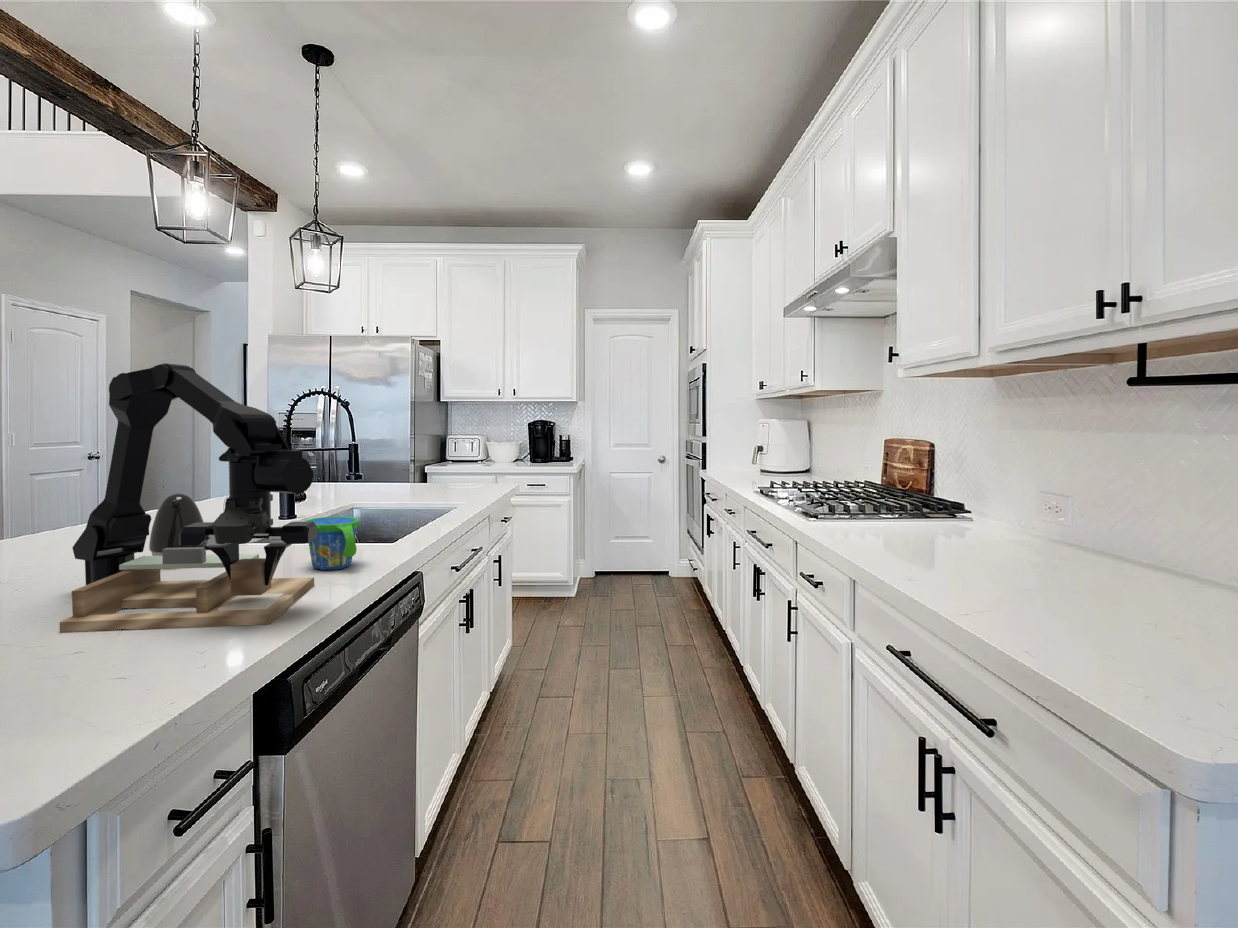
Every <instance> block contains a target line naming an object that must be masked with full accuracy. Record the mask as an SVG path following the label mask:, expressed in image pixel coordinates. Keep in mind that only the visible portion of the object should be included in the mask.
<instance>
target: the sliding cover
mask: <svg viewBox="0 0 1238 928" xmlns="http://www.w3.org/2000/svg"><path fill="white" fill-rule="evenodd" d="M206 553H207V550H205V548H204V547H189V548H165V549H163V550H162V556H153V555H143V556H140V557H137V558H134V560H131V561H129V562H126V563H123V564H121V565H119V570H131V569H160V570H167V569H168V570H169V569H174V570H175V569H214V568H215V569H218V568H220V569H221V568H224V569H225V567H224V565H223V563H222V562H221V560H220V559H219V557H218V556H217V555H216V554H206ZM255 558H260V554H259V553H252V554H251V553H249V554H248V553H247V554H246V553H239V560H240V559H255Z"/></svg>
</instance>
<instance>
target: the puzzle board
mask: <svg viewBox="0 0 1238 928" xmlns="http://www.w3.org/2000/svg"><path fill="white" fill-rule="evenodd" d="M314 586H315V577H311V576H310V577H279V578H278V577H277V578H273V577H272V580H271V588H270V589H269V590H267V591H266V592H265V593H263V594H280V593H284V595H283V596H282V597H281V598H280V599H278V600H277V601H276V602H275V603H274V604H272V605H271V606H270V607H269V608H267V609H255V610H225V611H218V608H220V607H221V606H223V605H224V604H226V603H227V602H229V601H230V600H232V599H233V598H235V597H236V596H231V581H230V578H229V576H228V574H227V572H226V571H224V572H223V573H220V574H219V575H217V576H215V577H213V578H212V579H204V580H203V579H200V580H199V579H198V580H197V579H195V580H194V579H193V580H191V579H190V580H163V581H162V579H161V569H131V570H124V571H121V572H119V573H116V574H114V575H111V576H108V577H106V578H103V579H101V580H98V581H96V582H93V583H91V584H88V585H86V584H85V585H83V586H81V587H78V588H76V589H73V590H72V591H71V603H72V604H71V605H72V616H70V617H67V618H65V619H63V620H61V621H59V632H60V633H67V632H69V633H71V632H96V631H98V632H99V631H100V632H101V631H103V632H104V631H122V630H121V629H129V630H145V629H146V630H149V629H150V628H151V629H152V630H153V628H156V629H174V628H175V629H177V628H178V629H179V628H181V629H182V628H202V627H204V628H205V627H229V626H257V625H261V626H262V625H271V624H272V623H273V622H275V620H277V618H279V617H280V616H282V614H283V613H284V612H286V611H287V610H288V609H289V608H290V607H291V606H292V605H293V604H295V603H296V602H297V601H298V600H299V599H300V598H301V597H302V596H304V595H305V594H306V593H307V592H308V591H310V590H311V589H312V588H313V587H314ZM190 607H191V608H192V607H193V608H194V607H196V611H174V612H173V611H172V612H170V611H169V612H168V611H166V612H142V613H141V612H140V613H116V612H118V611H119V610H125V609H124V608H136V609H159V608H160V609H161V608H190ZM121 608H123V609H121ZM115 611H116V612H115ZM148 628H149V629H148ZM117 629H118V630H117ZM119 629H120V630H119ZM151 629H150V630H151Z"/></svg>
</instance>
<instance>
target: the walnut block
mask: <svg viewBox="0 0 1238 928" xmlns="http://www.w3.org/2000/svg"><path fill="white" fill-rule="evenodd" d="M265 562H266V557H263V558H262V557H261V558H260V557H259V558H255V559H240V560H239V561H237V562H235V563H233V564H231V565H230V569H231V596H244V595H262V594H263V593H265V592H266V591H267V590H269V589H270V588H271V582H270V584H269V585H268V586H266V585H265V577H264V576H265Z"/></svg>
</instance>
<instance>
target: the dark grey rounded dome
mask: <svg viewBox="0 0 1238 928" xmlns="http://www.w3.org/2000/svg"><path fill="white" fill-rule="evenodd" d="M197 522H204V519H203V516H202V514H201V511H200V509H199V507H198V505H197V504H196V502H195V501H194V500H193V498H192V497H191V496H189V495H187V494H185V493H173V494H170V495H168V496H166V497H165V499H164V500H163V501H162V502H161V504H160V505H159V507H158V509H157V512H156V514H155V517H154V520H153V524H152V526H151V531H150V534H149V544H148V546H149V547H148V549H149V551H150V552H151V556H162V550H163V549H165V548H189V547H205V546H207V539H206V540H205V541H204V542H203V543H202V544H201V545H179V537H178V534H179V532H180V530H181V529H182V528H183V527H185V526H188V525H191V524H194V523H197Z"/></svg>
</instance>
